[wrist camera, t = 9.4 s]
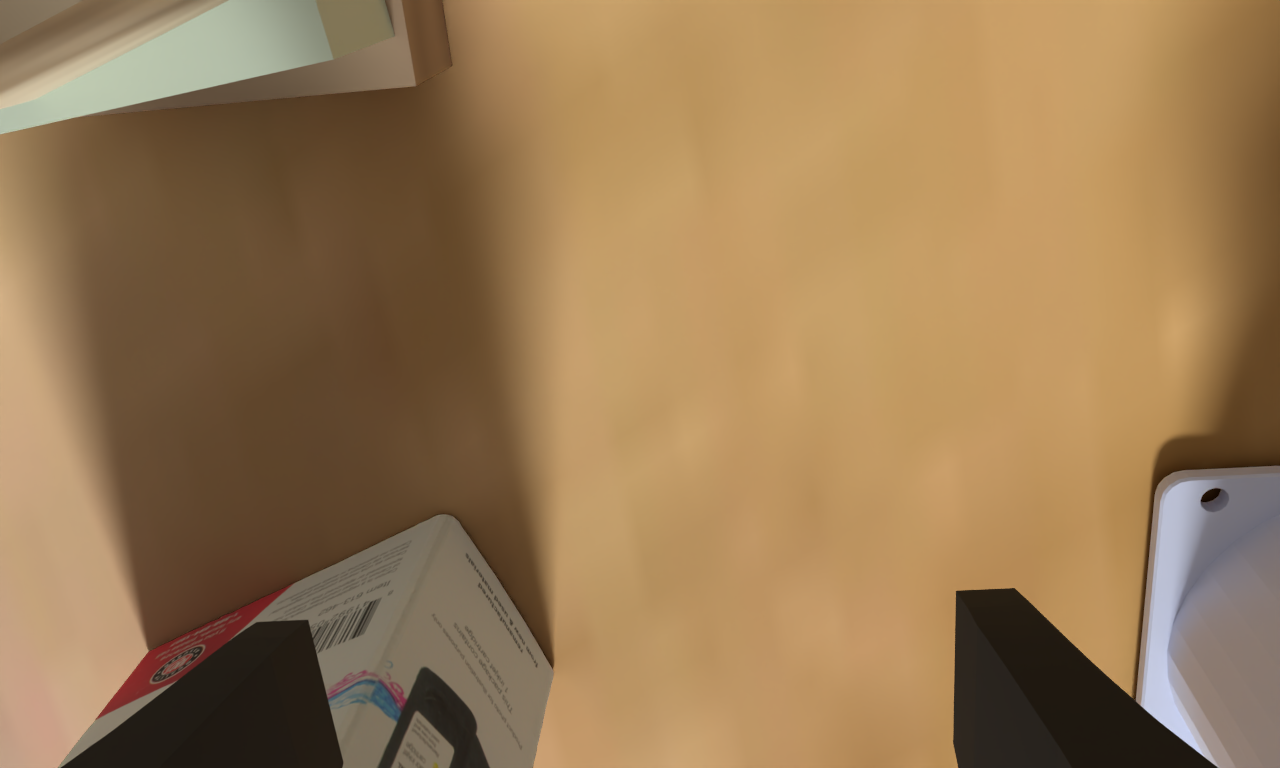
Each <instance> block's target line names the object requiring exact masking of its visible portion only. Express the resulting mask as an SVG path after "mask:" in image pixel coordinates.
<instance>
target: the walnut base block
mask: <svg viewBox="0 0 1280 768" xmlns="http://www.w3.org/2000/svg"><path fill="white" fill-rule="evenodd" d="M385 3H386V7H387V10H388V14H389V17H390V21H391V24H392V28H393V31H394V35H395V36H394V37H392V38H389V39H386V40H384V41H381V42H378V43H376V44H373V45H371V46H368V47H365V48H363V49H360V50H357V51H355V52H352V53H349V54H347V55H344V56H342V57H339V58H336V59H334V60H329V61H325V62H320V63H316V64H311V65H307V66H302V67H298V68H294V69H289V70H285V71H280V72H276V73H271V74H267V75H262V76H258V77H253V78H249V79H244V80H240V81H236V82H231V83H227V84H222V85H218V86H213V87H209V88H204V89H200V90H195V91H191V92H187V93H182V94H178V95H173V96H169V97H164V98H160V99H155V100H151V101H146V102H142V103H138V104H133V105H129V106H124V107H120V108H115V109H111V110H106V111H102V112H97V113H93V114H89V115H84V116H80V117H87V116H98V115H108V114H119V113H130V112H141V111H152V110H163V109H173V108H184V107H195V106H206V105H217V104H228V103H238V102H249V101H260V100H271V99H282V98H293V97H303V96H314V95H325V94H336V93H347V92H358V91H368V90H379V89H390V88H401V87H412V86H417V85H419V84H421V83H423V82H424V81H426V80H428V79H430V78H432V77H433V76H435V75H437V74H439V73H440V72H442V71H444V70H446V69H448V68H449V67H451V66H452V61H451V54H450V48H449V42H448V35H447V29H446V22H445V16H444V10H443V3H442V0H385ZM75 118H76V117H75Z"/></svg>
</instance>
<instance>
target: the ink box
mask: <svg viewBox="0 0 1280 768" xmlns="http://www.w3.org/2000/svg"><path fill="white" fill-rule="evenodd" d="M289 620H308V621H309V625H310V629H311V633H312V637H313V641H314V645H315V649H316V653H317V657H318V661H319V665H320V669H321V673H322V677H323V681H324V685H325V689H326V694H327V698H328V702H329V706H330V710H331V714H332V718H333V722H334V726H335V730H336V734H337V738H338V742H339V746H340V750H341V754H342V758H343V762H344V763H343V767H342V768H533V764H534V760H535V756H536V751H537V745H538V741H539V737H540V732H541V728H542V724H543V719H544V714H545V709H546V705H547V701H548V697H549V693H550V688H551V684H552V680H553V675H554V672H553V669H552V667H551V666H550V664H549V662H548V661H547V659H546V657H545V656H544V654H543V652H542V650H541V649H540V647H539V645H538V643H537V642H536V640H535V638H534V637H533V635H532V633H531V631H530V630H529V628H528V626H527V625H526V623H525V621H524V620H523V618H522V617H521V615H520V613H519V612H518V610H517V609H516V607H515V606H514V604H513V602H512V601H511V599H510V598H509V596H508V594H507V593H506V591H505V590H504V588H503V587H502V585H501V583H500V582H499V580H498V579H497V577H496V576H495V574H494V573H493V571H492V570H491V568H490V567H489V565H488V564H487V562H486V561H485V559H484V558H483V556H482V555H481V553H480V552H479V551H478V549H477V548H476V546H475V545H474V543H473V542H472V540H471V539H470V537H469V536H468V534H467V533H466V532H465V530H464V529H463V528H462V526H461V524H460V522H459V521H458V520H457V519H455V518H454V517H453V516H451V515H447V514H440V515H437V516H434V517H432V518H430V519H428V520H426V521H424V522H421V523H419V524H417V525H415V526H414V527H411V528H409V529H407V530H405V531H403V532H401V533H399V534H397V535H394V536H392V537H390V538H388V539H386V540H384V541H382V542H380V543H378V544H376V545H374V546H372V547H370V548H368V549H365V550H363V551H361V552H359V553H357V554H355V555H353V556H351V557H349V558H347V559H345V560H343V561H341V562H339V563H337V564H335V565H332V566H330V567H328V568H325V569H323V570H321V571H319V572H317V573H314V574H312V575H310V576H308V577H306V578H304V579H302V580H300V581H298V582H296V583H293V584H291V585H289V586H287V587H285V588H283V589H281V590H279V591H277V592H274V593H272V594H270V595H268V596H266V597H263V598H261V599H259V600H257V601H255V602H253V603H251V604H249V605H247V606H244V607H242V608H240V609H238V610H236V611H234V612H233V613H230V614H226V615H224V616H222V617H221V618H219V619H218V620H214V621H211V622H209V623H207V624H206V625H204V626H203V627H200V628H197V629H195V630H193V631H191V632H188V633H186V634H184V635H182V636H180V637H178V638H176V639H174V640H172V641H170V642H168V643H165V644H163V645H161V646H159V647H157V648H156V649H153V650H151V651H149V652H148V653H147V654H146V656H145V657H144V658H143V659H142V661H141V662H140V663H139V665H138V666H137V667H136V669H135V670H134V671H133V672H132V674H131V675H130V676H129V678H128V679H127V680H126V681H125V683H124V684H123V685H122V687H121V688H120V689H119V690H118V692H117V693H116V694H115V695H114V696H113V698H112V699H111V700H110V702H109V703H108V704H107V705H106V707H105V708H104V709H103V711H102V712H101V713H100V714H99V716H98V717H97V718H96V720H95V721H94V722H93V724H92V725H91V726H90V727H89V728H88V730H87V731H86V732H85V733H84V734H83V736H82V737H81V738H80V740H79V741H78V742H77V743H76V745H75V746H74V747H73V749H72V750H71V751H70V753H69V754H68V755H67V756H66V758H65V759H64V760H63V762H62V763H61V764H60V766H59V767H58V768H61V767H62V766H64V765H65V764H66V763H68V762H69V761H71V760H72V759H73V758H75V757H76V756H78V755H79V754H80V753H82V752H83V751H85V750H86V749H87V748H89V747H90V746H92V745H93V744H94V743H96V742H97V741H99V740H100V739H101V738H103V737H104V736H106V735H107V734H108V733H110V732H111V731H112V730H114V729H115V728H116V727H118V726H119V725H120V724H122V723H123V722H124V721H126V720H127V719H128V718H129V717H131V716H132V715H133V714H135V713H136V712H137V711H139V710H140V709H141V708H142V707H144V706H145V705H146V704H148V703H149V702H150V701H152V700H153V699H154V698H155V697H157V696H158V695H159V694H161V693H162V692H163V691H165V690H166V689H167V688H169V687H170V686H171V685H172V684H174V683H175V682H176V681H178V680H179V679H180V678H181V677H183V676H184V675H185V674H187V673H188V672H189V671H190V670H192V669H193V668H194V667H196V666H197V665H198V664H199V663H201V662H202V661H203V660H205V659H206V658H207V657H208V656H210V655H211V654H212V653H214V652H215V651H216V650H218V649H219V648H220V647H222V646H223V645H224V644H226V643H227V642H228V641H230V640H231V639H232V638H234V637H235V636H237V635H238V634H239V633H241V632H242V631H244V630H245V629H247V628H248V627H250V626H251V625H253V624H254V623H256V622H266V621H289Z"/></svg>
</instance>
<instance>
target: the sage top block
mask: <svg viewBox="0 0 1280 768" xmlns="http://www.w3.org/2000/svg"><path fill="white" fill-rule="evenodd" d="M394 36H395V35H394V31H393V28H392V24H391V21H390V17H389V14H388V10H387V7H386V3H385V0H228V1H226V2H224V3H222V4H221V5H219V6H217V7H215V8H213V9H211V10H209V11H207V12H205V13H203V14H201V15H199V16H197V17H195V18H193V19H191V20H189V21H187V22H185V23H183V24H181V25H180V26H178V27H176V28H174V29H172V30H170V31H168V32H166V33H164V34H162V35H160V36H158V37H156V38H154V39H152V40H150V41H148V42H146V43H144V44H142V45H141V46H139V47H137V48H135V49H133V50H131V51H129V52H127V53H125V54H123V55H121V56H119V57H117V58H115V59H113V60H111V61H109V62H107V63H105V64H103V65H102V66H100V67H98V68H96V69H94V70H92V71H90V72H88V73H86V74H84V75H82V76H80V77H78V78H76V79H74V80H72V81H70V82H68V83H66V84H64V85H62V86H61V87H59V88H57V89H55V90H53V91H51V92H49V93H47V94H45V95H43V96H41V97H39V98H37V99H35V100H32V101H28V102H25V103H21V104H17V105H14V106H10V107H7V108H3V109H0V134H4V133H8V132H13V131H17V130H22V129H26V128H31V127H35V126H40V125H44V124H48V123H53V122H57V121H62V120H66V119H71V118H75V117H80V116H84V115H89V114H93V113H97V112H102V111H106V110H111V109H115V108H120V107H124V106H129V105H133V104H138V103H142V102H146V101H151V100H155V99H160V98H164V97H169V96H173V95H178V94H182V93H187V92H191V91H195V90H200V89H204V88H209V87H213V86H218V85H222V84H227V83H231V82H236V81H240V80H244V79H249V78H253V77H258V76H262V75H267V74H271V73H276V72H280V71H285V70H289V69H294V68H298V67H302V66H307V65H311V64H316V63H320V62H325V61H329V60H334V59H336V58H339V57H342V56H344V55H347V54H349V53H352V52H355V51H357V50H360V49H363V48H365V47H368V46H371V45H373V44H376V43H378V42H381V41H384V40H386V39H389V38H392V37H394Z"/></svg>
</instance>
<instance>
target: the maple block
mask: <svg viewBox="0 0 1280 768" xmlns="http://www.w3.org/2000/svg"><path fill="white" fill-rule="evenodd" d="M226 1H228V0H0V109H3V108H7V107H10V106H14V105H17V104H21V103H25V102H28V101H32V100H35V99H37V98H39V97H41V96H43V95H45V94H47V93H49V92H51V91H53V90H55V89H57V88H59V87H61V86H62V85H64V84H66V83H68V82H70V81H72V80H74V79H76V78H78V77H80V76H82V75H84V74H86V73H88V72H90V71H92V70H94V69H96V68H98V67H100V66H102V65H103V64H105V63H107V62H109V61H111V60H113V59H115V58H117V57H119V56H121V55H123V54H125V53H127V52H129V51H131V50H133V49H135V48H137V47H139V46H141V45H142V44H144V43H146V42H148V41H150V40H152V39H154V38H156V37H158V36H160V35H162V34H164V33H166V32H168V31H170V30H172V29H174V28H176V27H178V26H180V25H181V24H183V23H185V22H187V21H189V20H191V19H193V18H195V17H197V16H199V15H201V14H203V13H205V12H207V11H209V10H211V9H213V8H215V7H217V6H219V5H221V4H222V3H224V2H226Z"/></svg>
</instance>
